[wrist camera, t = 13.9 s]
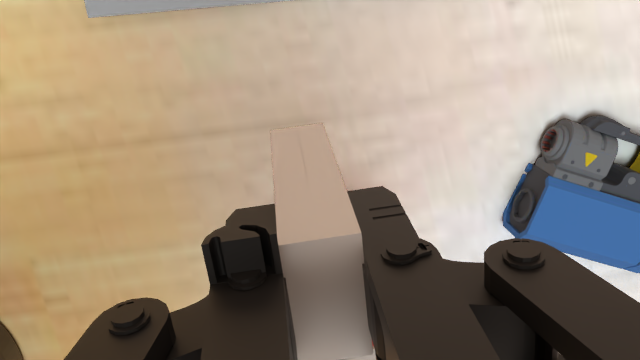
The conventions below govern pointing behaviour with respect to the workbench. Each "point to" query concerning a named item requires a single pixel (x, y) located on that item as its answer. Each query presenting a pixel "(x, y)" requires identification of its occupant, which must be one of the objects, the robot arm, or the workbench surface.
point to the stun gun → (581, 194)
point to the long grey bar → (156, 5)
